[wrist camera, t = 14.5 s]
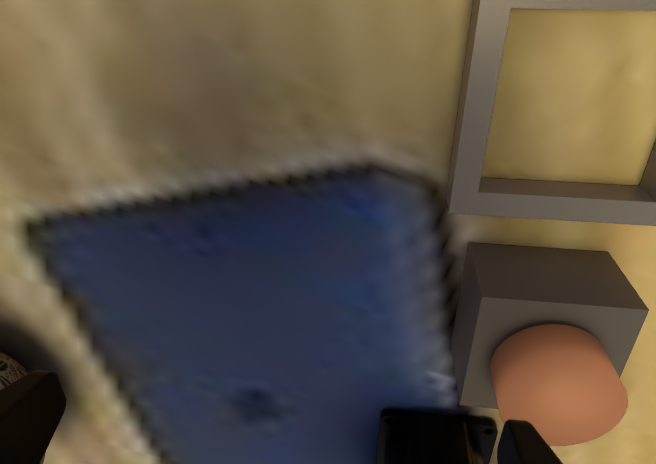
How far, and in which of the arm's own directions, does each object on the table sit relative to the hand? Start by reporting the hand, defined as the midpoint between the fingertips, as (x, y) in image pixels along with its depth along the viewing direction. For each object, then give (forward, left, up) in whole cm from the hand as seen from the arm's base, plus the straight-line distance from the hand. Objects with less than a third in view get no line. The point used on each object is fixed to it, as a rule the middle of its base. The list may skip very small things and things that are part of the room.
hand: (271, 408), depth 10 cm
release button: (-7, -9, -11) cm, 16 cm away
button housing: (-6, -9, -13) cm, 17 cm away
